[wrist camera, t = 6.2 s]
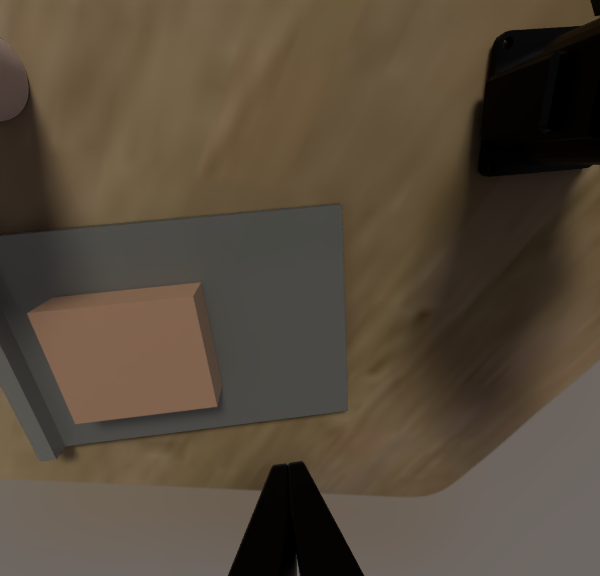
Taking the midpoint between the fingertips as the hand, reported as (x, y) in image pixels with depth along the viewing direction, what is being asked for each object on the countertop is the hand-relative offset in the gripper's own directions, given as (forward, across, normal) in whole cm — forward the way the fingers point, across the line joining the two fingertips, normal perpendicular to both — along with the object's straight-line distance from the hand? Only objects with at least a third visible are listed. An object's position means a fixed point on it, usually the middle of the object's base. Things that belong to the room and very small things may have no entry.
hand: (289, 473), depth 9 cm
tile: (+10, +4, +2) cm, 11 cm away
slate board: (+12, +6, +2) cm, 13 cm away
